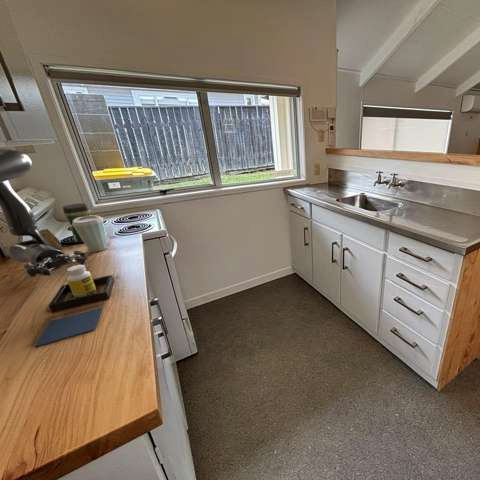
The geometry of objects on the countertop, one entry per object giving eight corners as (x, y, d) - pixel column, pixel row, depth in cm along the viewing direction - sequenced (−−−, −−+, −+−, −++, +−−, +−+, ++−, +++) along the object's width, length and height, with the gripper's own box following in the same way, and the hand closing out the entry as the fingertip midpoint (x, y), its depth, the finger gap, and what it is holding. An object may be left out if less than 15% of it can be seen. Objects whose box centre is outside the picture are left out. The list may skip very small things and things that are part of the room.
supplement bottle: (90, 299, 79) (79, 270, 75) (70, 301, 78) (58, 272, 74) (101, 290, 84) (91, 262, 80) (82, 291, 83) (71, 264, 79)
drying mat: (34, 347, 60) (34, 346, 60) (50, 321, 69) (50, 320, 69) (94, 330, 65) (94, 329, 65) (102, 308, 74) (101, 307, 74)
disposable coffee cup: (115, 248, 118) (104, 217, 112) (84, 256, 110) (72, 222, 105) (109, 243, 124) (99, 213, 119) (80, 250, 117) (68, 218, 111)
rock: (21, 252, 109) (51, 244, 113) (17, 234, 111) (46, 227, 115) (38, 258, 119) (65, 251, 123) (34, 242, 121) (61, 235, 125)
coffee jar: (98, 235, 135) (86, 201, 129) (101, 239, 130) (88, 203, 124) (74, 240, 129) (60, 204, 122) (76, 244, 124) (61, 207, 117)
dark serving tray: (51, 313, 72) (48, 305, 72) (65, 292, 83) (62, 285, 82) (109, 298, 79) (106, 291, 78) (114, 281, 89) (112, 274, 88)
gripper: (11, 255, 82) (29, 265, 75) (68, 240, 94) (89, 248, 86) (22, 276, 85) (40, 287, 77) (76, 259, 96) (96, 268, 89)
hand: (66, 267), depth 82 cm, fingers open, 8 cm apart
